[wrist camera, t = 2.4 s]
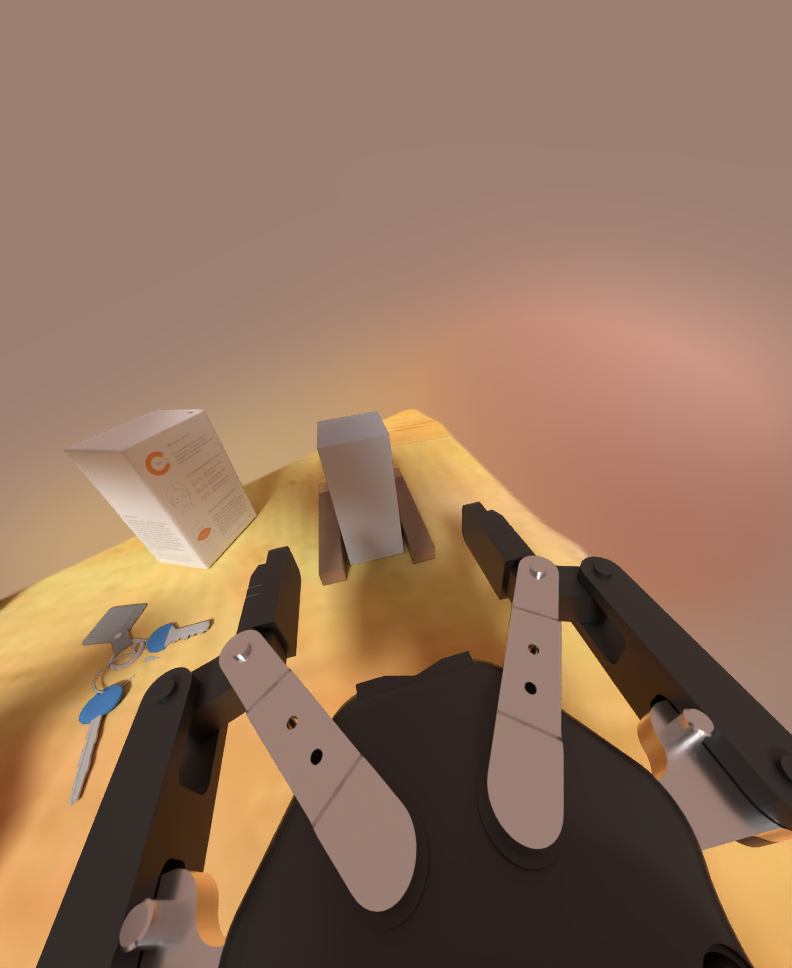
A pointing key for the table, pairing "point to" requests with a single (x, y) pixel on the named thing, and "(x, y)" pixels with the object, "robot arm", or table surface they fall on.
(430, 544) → the pair of brown sticks
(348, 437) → the slate block
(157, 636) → the key chain
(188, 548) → the small box
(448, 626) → the table surface
